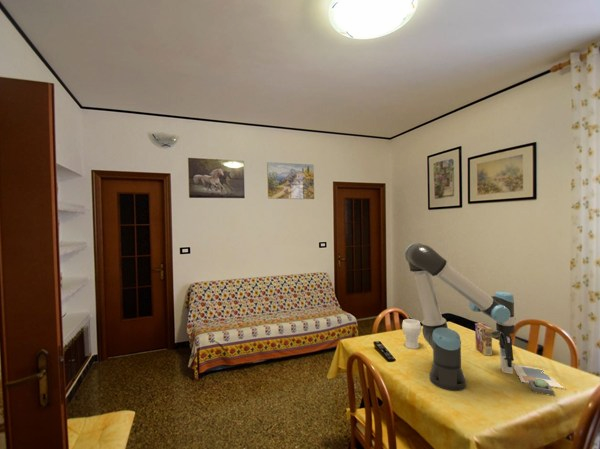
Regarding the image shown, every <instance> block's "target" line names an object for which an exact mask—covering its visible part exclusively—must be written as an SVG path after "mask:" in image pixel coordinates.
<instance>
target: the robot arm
mask: <svg viewBox="0 0 600 449" xmlns="http://www.w3.org/2000/svg"><path fill="white" fill-rule="evenodd" d="M404 256H405V260H406V261H407V263H408V267H409V270H410V273H412V274H413V275H414V276H413V277H414V279H415V283H416V289H417V294H418V297H419V298H418V299H419V302H420V306H421V311H422V315H423V319H422V321H421V324H422V325H421V326H422V328H421V331H422V335H423V338H424V339H425V341H426V342H427V343H428V345H429V346H430V347H431V348H432V354H433V355H432V356H433V357H432V358H433V364H432V367H431V368H430V372H429V379H430V380H429V381H430V382H431V383H432V385H434V386H436V387H438V388H441V389H443V390H447V391H462V390H464V389H465V388H466V387H467V380H466V377H465V374H464V371H463V369H462V348H461V347H462V340H461V336H460V334H459V333H458V332H457V331H456V330H454V329H451V328H449V327H448V322H447V319H446V318H444V317H443V316H442V312H441V307H440V303H439V298H438V295H437V289H436V285H435V282H434V277H437V278H438V279H439V280H441V281H442V282H443V283H444V284H446V285H448V286H449V287H451V288H452V289H453V290H454V291H455V292H456V293H459V295H460V296H462V297H463V298H465V299H466V300H467V301H468V304H469V308H470V310H471V311H473V312H477V313H479V312H482V313H483V314H485V315H486V316H488V317H489V318H491V319H492V320H493V321H495V322H496V323H495V328H496V329H495V330H496V331H497V332H499V341H498V345H499V348H500V349H505V355H506V358H504V359H505V365H506V374H512V375H513V374H514V367H513V362H514V360H515V359H514V352H513V342H512V341H513V339H512V336H510V334H514V333H515V332H516V331H515V320H516V319H517V318H516V317H515V298H514V295H513V293H511V292H508V291H496V292H495V294H494V295H492V296H490V295H489V294H488V293H486V292H485V291H484V290H482V289H481V288H480V287H479V286H478V285H476V284H475V283H473V282H472V281H471V280H469V279H468V278H467V277H466V276H464V275H462V274H461V273H460V272H458V270H456V269H455V268H453V267H452V266H451V265H449V264H448V261H447V260H446V259H445V258H444V257H443V256H441V255H440V254H439V253H438V252H437V251H436V250H435V249H433V248H432V247H431V246H430V245H426V244H423V243H419V242H418V243H412V244H410V245H408V247H406V249H405V252H404ZM500 349H499V350H500ZM510 357H511V358H510ZM499 358H500V362H501V357H500V356H499Z"/></svg>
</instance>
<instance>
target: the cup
mask: <svg viewBox="0 0 600 449" xmlns="http://www.w3.org/2000/svg"><path fill="white" fill-rule="evenodd" d="M401 327H402V331H403V334H404V335H405V343H404V344H405V347H406V348H407V349H410V350H411V349H412V350H417V349H419V348H420V347H419V346H420V345H419V336H420V334H421V331H422V325H421V323H420V321H419V320H417V319H414V318H412V319H411V318H406V319H403V320H402V323H401Z"/></svg>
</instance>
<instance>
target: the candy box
mask: <svg viewBox="0 0 600 449" xmlns="http://www.w3.org/2000/svg"><path fill="white" fill-rule="evenodd" d="M474 325H475V326H474V327H475V328H474V330H475V333H474V334H475V350H476V351H477V352H479V353H481V355H482V354H483V355H484V356H490V355H491V356H493V332H492V331H493V329H492V327H491V326H487V325H486V324H483V323H482V322H476V323H474Z"/></svg>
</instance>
